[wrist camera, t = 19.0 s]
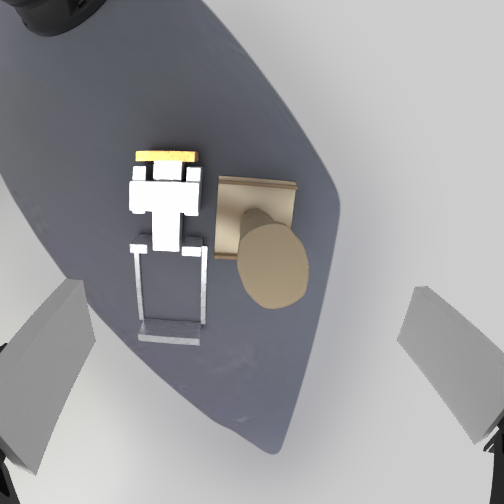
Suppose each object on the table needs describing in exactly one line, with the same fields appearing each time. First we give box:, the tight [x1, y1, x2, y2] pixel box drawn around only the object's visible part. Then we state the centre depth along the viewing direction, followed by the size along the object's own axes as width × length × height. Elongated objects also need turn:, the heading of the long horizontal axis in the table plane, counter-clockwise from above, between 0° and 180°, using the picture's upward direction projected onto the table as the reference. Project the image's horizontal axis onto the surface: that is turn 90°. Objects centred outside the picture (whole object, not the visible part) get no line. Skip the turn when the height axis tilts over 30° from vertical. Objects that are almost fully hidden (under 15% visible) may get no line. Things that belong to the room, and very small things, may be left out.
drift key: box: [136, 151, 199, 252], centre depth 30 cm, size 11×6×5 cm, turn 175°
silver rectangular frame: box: [130, 234, 208, 345], centre depth 35 cm, size 13×9×4 cm
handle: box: [237, 208, 309, 309], centre depth 27 cm, size 5×6×15 cm
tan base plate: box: [214, 176, 298, 260], centre depth 34 cm, size 10×9×2 cm
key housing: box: [130, 165, 203, 216], centre depth 30 cm, size 5×7×5 cm
